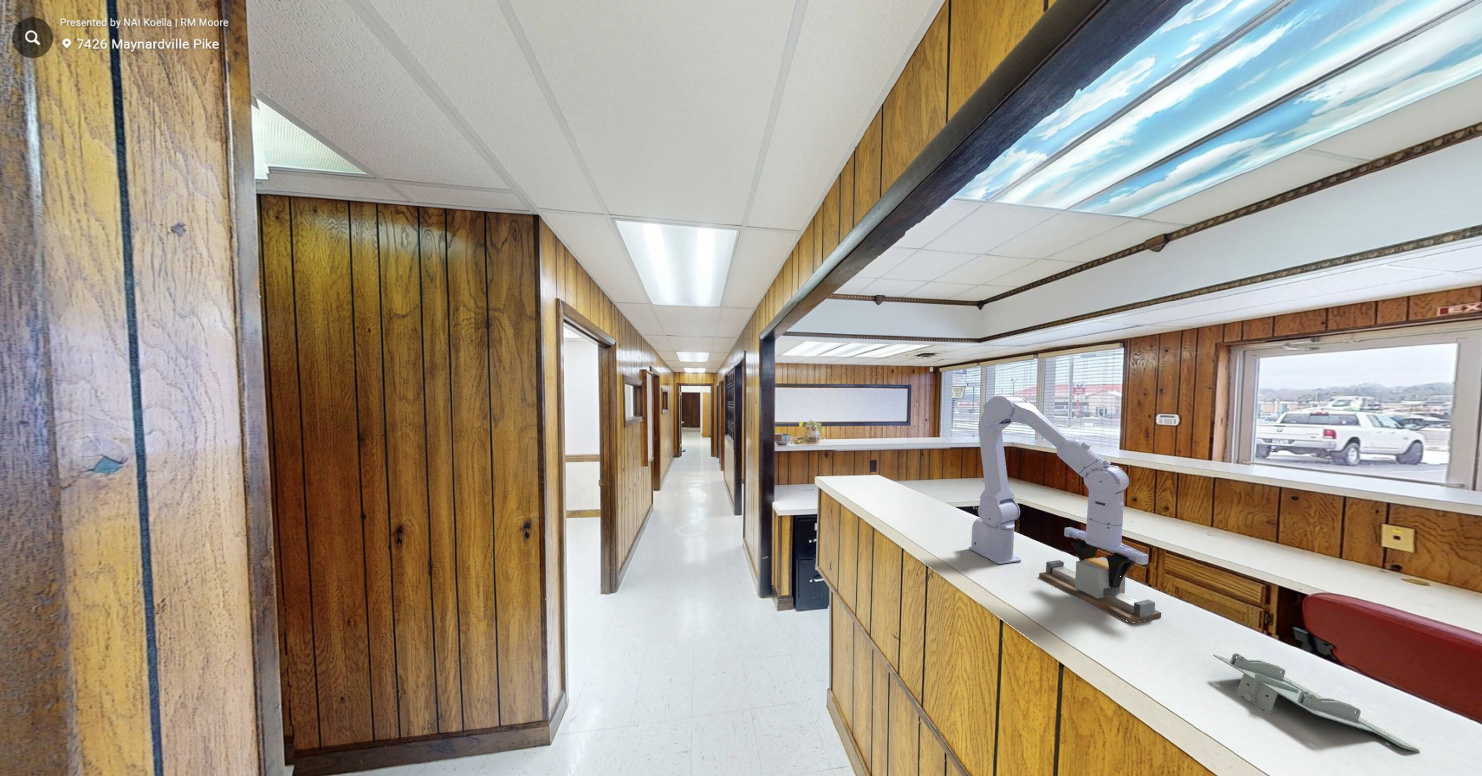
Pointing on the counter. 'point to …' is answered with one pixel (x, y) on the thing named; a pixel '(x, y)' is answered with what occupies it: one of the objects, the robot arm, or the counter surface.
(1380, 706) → the counter surface
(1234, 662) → the metal bracket
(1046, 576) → the mounting plate
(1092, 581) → the block
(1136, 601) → the din rail
